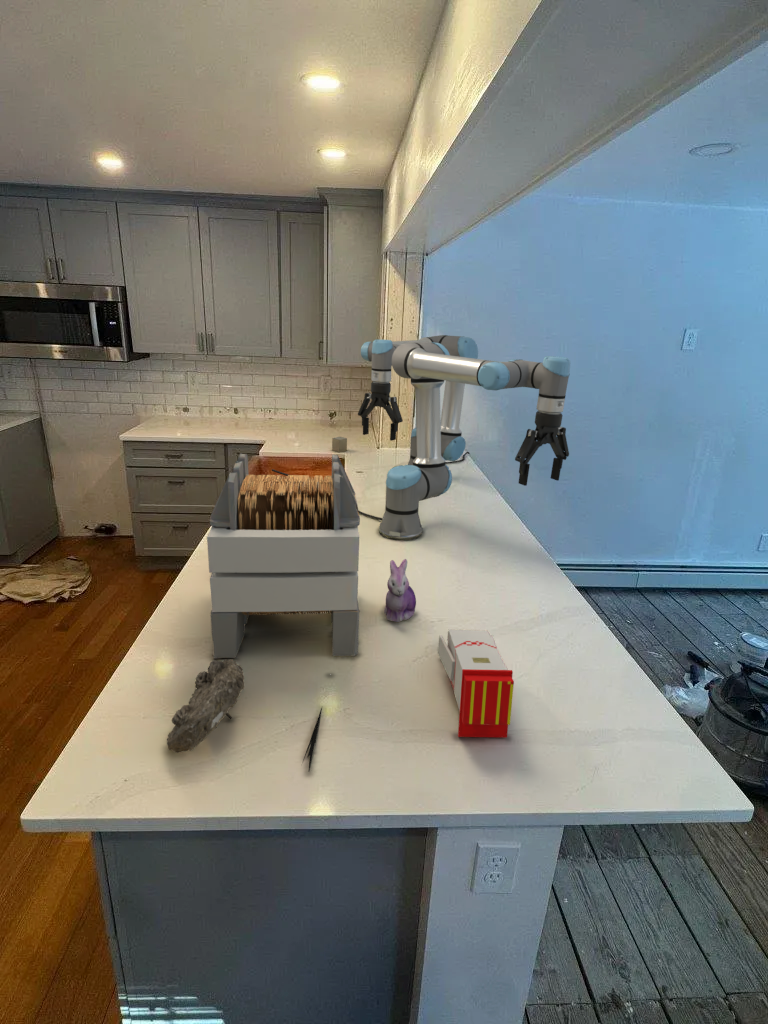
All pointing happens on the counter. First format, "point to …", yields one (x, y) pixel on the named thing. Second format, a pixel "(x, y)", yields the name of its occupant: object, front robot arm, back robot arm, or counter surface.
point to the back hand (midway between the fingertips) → (379, 437)
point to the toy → (478, 682)
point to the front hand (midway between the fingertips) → (538, 481)
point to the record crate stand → (284, 553)
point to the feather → (313, 740)
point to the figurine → (399, 594)
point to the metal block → (339, 444)
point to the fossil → (206, 705)
